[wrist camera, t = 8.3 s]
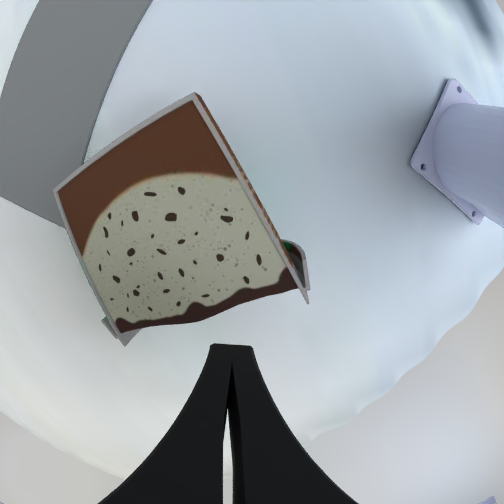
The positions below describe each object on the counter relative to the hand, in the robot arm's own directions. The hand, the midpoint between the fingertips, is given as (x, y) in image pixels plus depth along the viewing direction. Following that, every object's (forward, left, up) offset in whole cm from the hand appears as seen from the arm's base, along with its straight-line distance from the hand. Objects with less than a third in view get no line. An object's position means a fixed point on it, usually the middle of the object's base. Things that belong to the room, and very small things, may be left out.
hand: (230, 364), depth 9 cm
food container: (+8, -4, -8) cm, 12 cm away
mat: (+17, -6, -10) cm, 20 cm away
